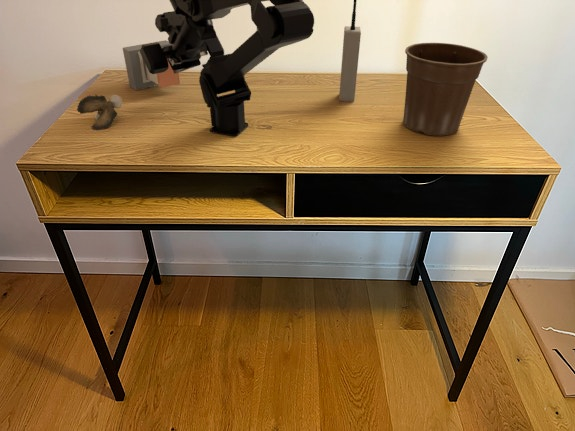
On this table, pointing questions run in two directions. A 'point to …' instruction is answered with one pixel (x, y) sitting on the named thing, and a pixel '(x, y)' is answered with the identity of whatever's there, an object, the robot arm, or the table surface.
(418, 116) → the plant pot
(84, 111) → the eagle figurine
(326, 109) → the table surface
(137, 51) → the box
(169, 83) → the plunger
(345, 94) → the vintage mobile phone
